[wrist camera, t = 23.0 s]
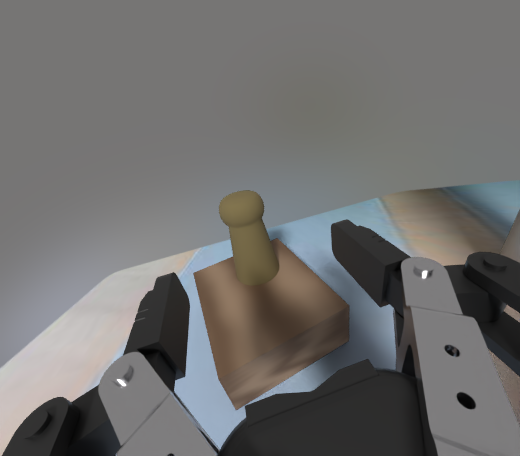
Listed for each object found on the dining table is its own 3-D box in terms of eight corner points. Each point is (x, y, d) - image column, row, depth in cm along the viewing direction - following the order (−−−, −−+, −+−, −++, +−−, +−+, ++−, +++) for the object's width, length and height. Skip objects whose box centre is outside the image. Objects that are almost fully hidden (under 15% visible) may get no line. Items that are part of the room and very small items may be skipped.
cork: (237, 259, 32) (215, 191, 27) (276, 252, 32) (262, 181, 27) (235, 289, 27) (207, 211, 22) (282, 280, 27) (266, 199, 21)
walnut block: (282, 266, 38) (277, 238, 35) (348, 340, 25) (349, 305, 22) (206, 301, 35) (193, 273, 32) (236, 410, 21) (218, 379, 18)
